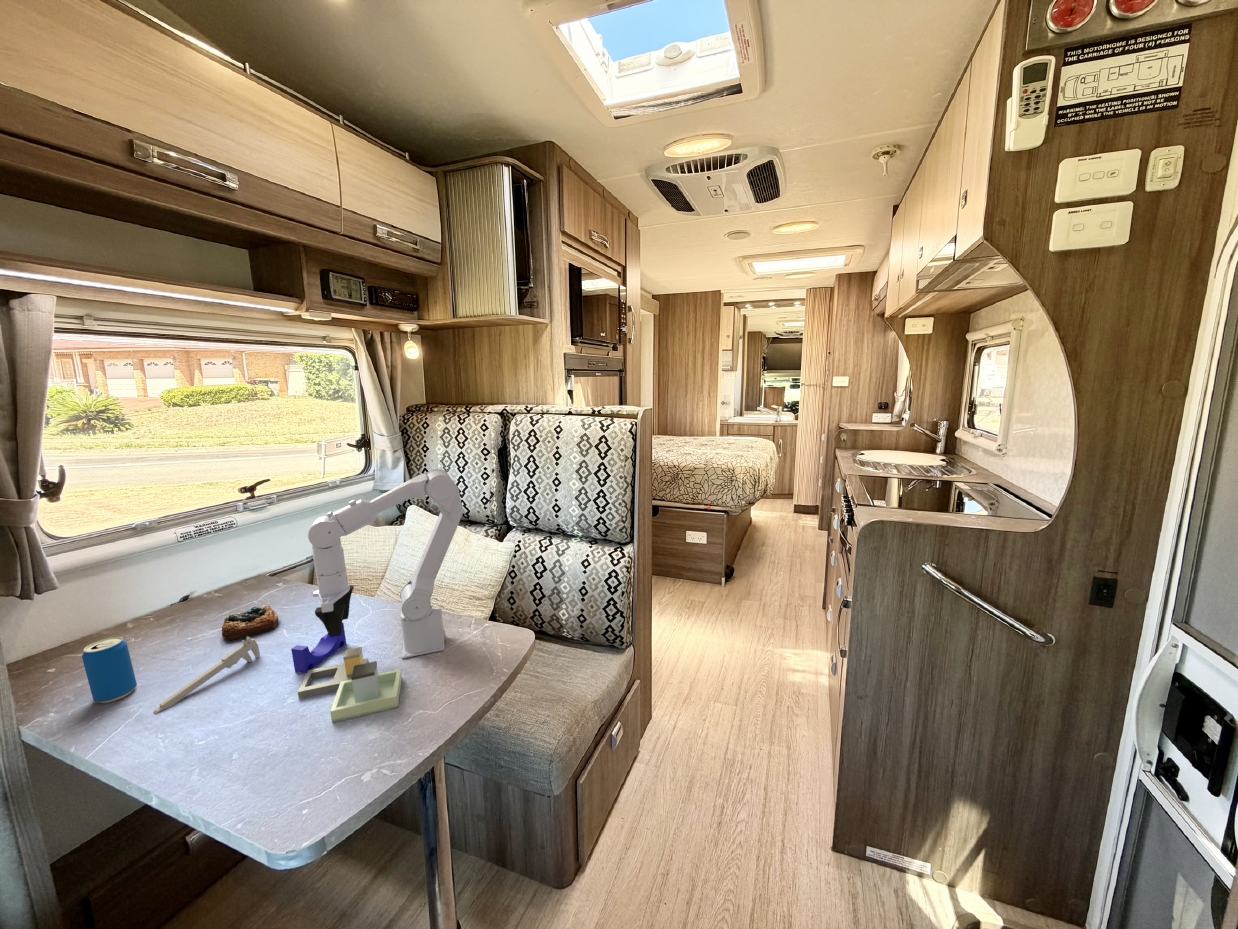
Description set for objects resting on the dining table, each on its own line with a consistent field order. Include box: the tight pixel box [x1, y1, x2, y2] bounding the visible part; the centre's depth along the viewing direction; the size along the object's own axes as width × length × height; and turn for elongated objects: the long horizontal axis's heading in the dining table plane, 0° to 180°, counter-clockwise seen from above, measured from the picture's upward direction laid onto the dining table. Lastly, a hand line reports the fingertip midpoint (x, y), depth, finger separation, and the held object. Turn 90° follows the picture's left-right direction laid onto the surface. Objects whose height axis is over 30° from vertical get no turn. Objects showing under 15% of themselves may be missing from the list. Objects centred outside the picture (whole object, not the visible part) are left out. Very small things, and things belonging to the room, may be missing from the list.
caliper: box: [152, 637, 261, 715], centre depth 104 cm, size 20×1×6 cm, turn 162°
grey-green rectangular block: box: [351, 661, 380, 703], centre depth 96 cm, size 4×4×7 cm
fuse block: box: [297, 646, 369, 699], centre depth 103 cm, size 12×8×6 cm, turn 110°
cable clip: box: [290, 622, 347, 675], centre depth 112 cm, size 12×4×6 cm, turn 168°
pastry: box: [221, 605, 279, 643], centre depth 126 cm, size 11×12×6 cm
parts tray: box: [329, 668, 403, 724], centre depth 97 cm, size 12×10×2 cm
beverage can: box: [81, 636, 138, 704], centre depth 100 cm, size 6×6×12 cm
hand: (339, 627), depth 107 cm, fingers open, 7 cm apart
